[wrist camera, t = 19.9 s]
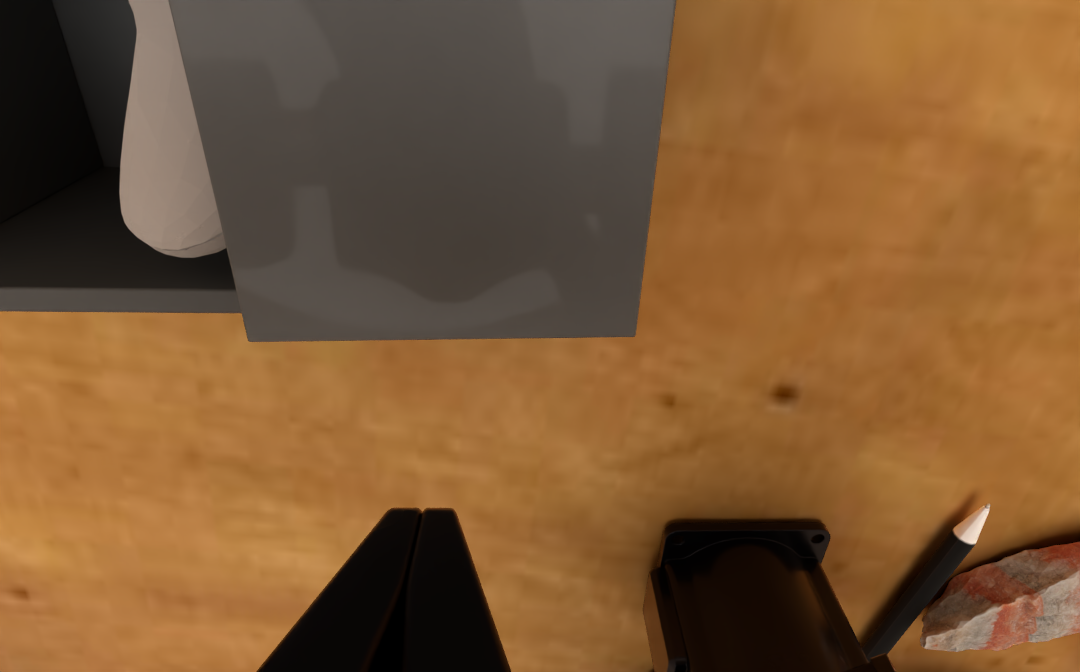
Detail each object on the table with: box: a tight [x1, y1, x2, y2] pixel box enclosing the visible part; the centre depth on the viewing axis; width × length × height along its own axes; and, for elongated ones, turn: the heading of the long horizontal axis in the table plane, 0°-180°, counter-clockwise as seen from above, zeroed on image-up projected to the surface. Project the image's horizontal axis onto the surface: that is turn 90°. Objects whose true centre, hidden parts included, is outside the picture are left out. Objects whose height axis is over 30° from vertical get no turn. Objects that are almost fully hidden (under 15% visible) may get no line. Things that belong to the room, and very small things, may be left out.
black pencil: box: [862, 503, 991, 662], centre depth 30 cm, size 1×19×1 cm, turn 168°
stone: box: [920, 542, 1080, 652], centre depth 27 cm, size 12×2×5 cm
